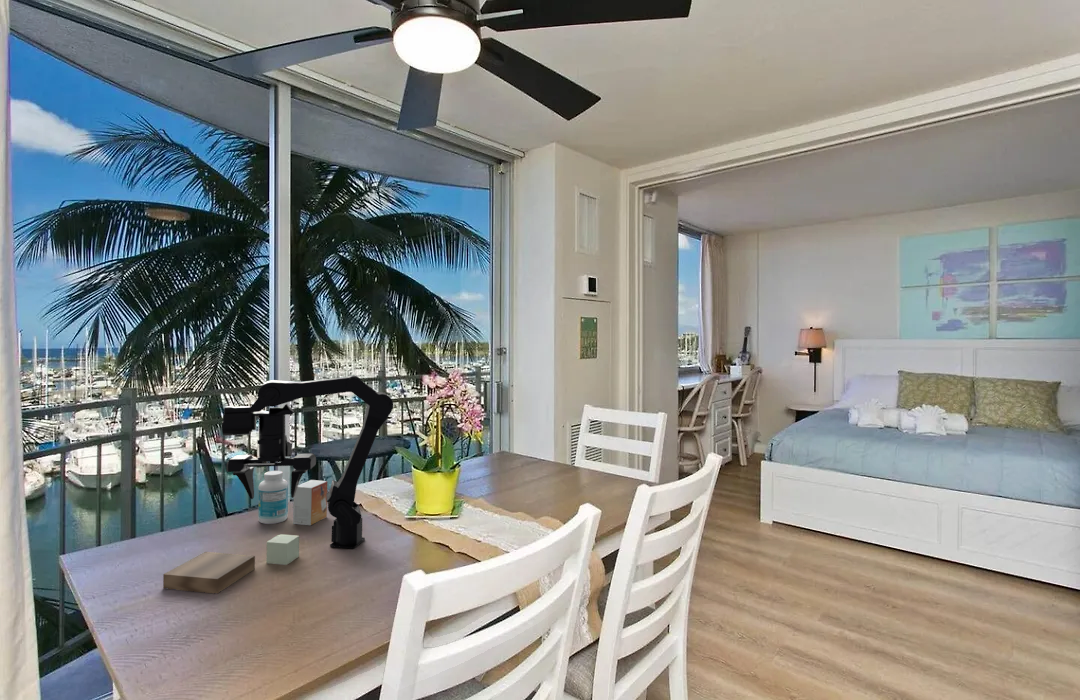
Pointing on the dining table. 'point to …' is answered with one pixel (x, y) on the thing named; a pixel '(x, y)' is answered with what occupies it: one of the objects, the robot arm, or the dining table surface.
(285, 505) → the pill bottle
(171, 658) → the dining table surface
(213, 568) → the walnut plinth
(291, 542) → the sage block
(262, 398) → the robot arm
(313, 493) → the small box
